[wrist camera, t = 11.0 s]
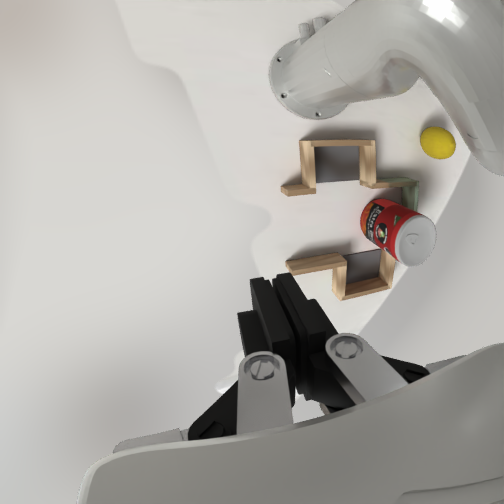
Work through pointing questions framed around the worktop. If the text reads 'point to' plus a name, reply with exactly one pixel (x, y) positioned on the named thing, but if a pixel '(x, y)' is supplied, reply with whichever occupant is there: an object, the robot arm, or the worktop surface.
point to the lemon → (437, 143)
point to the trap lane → (346, 169)
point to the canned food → (399, 231)
